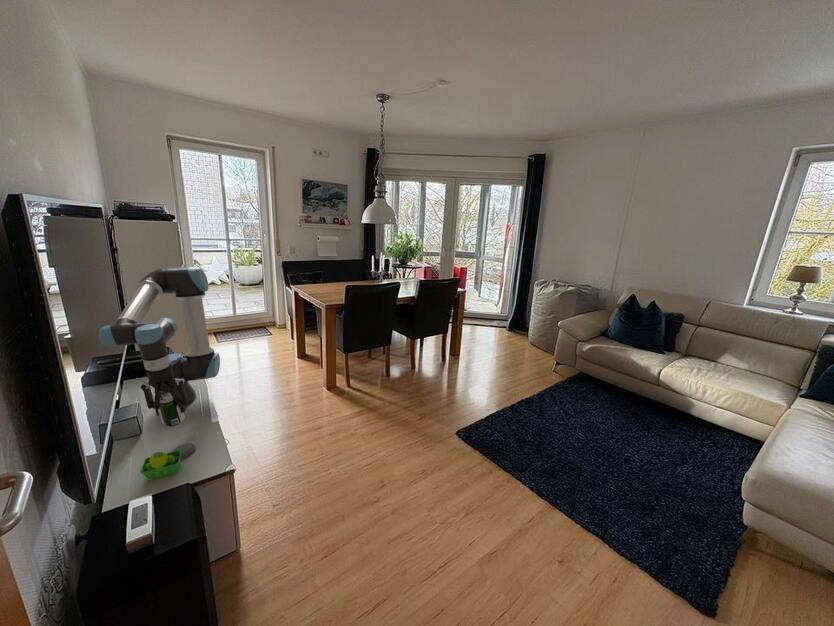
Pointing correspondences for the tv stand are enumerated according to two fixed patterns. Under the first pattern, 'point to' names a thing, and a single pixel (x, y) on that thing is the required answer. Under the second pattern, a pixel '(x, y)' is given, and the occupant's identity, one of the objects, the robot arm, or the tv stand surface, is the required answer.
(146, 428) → the tv stand surface
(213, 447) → the tv stand surface
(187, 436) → the tv stand surface
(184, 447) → the coaster
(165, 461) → the fruit basket
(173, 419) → the beer can
